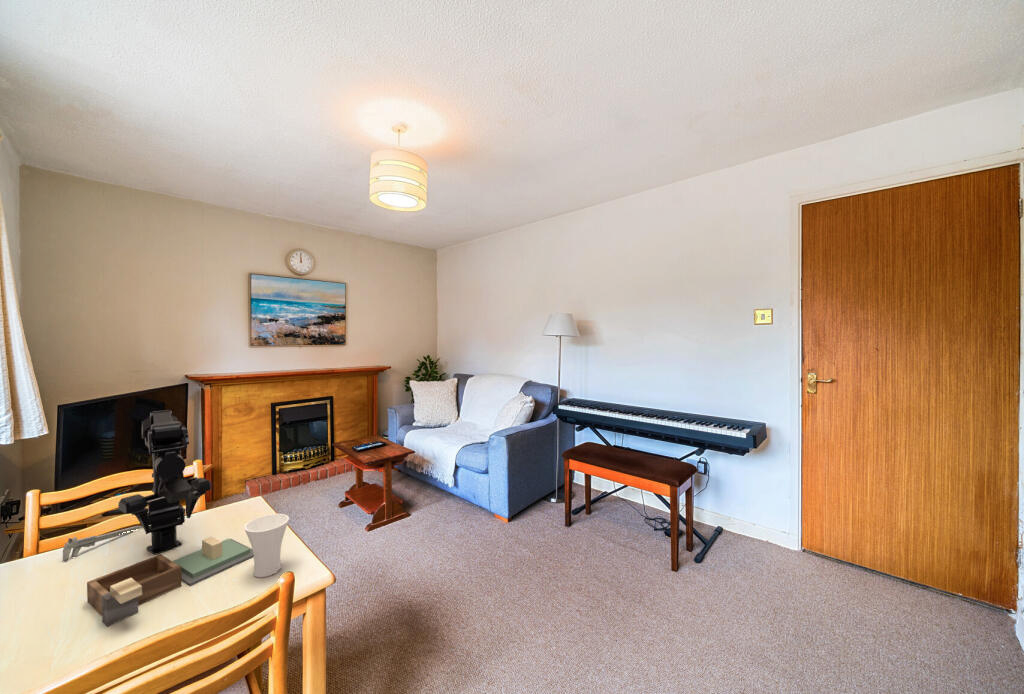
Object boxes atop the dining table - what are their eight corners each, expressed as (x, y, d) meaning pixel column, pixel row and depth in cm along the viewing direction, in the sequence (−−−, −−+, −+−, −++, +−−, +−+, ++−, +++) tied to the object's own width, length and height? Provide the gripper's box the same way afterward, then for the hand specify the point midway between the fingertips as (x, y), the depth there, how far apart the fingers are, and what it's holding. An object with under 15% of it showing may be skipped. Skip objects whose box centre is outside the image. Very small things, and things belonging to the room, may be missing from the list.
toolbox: (83, 603, 94) (83, 578, 94) (161, 572, 107) (160, 550, 106) (107, 626, 87) (106, 599, 86) (187, 589, 99) (186, 566, 99)
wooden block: (110, 594, 88) (110, 586, 88) (131, 586, 91) (131, 577, 91) (120, 603, 85) (120, 594, 85) (142, 594, 88) (141, 585, 88)
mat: (162, 568, 108) (162, 565, 108) (230, 540, 123) (230, 538, 123) (189, 586, 101) (189, 584, 101) (259, 554, 116) (259, 552, 116)
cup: (240, 571, 107) (239, 522, 107) (282, 555, 115) (282, 510, 115) (250, 587, 100) (250, 535, 100) (295, 570, 108) (294, 521, 108)
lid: (172, 565, 109) (172, 546, 109) (228, 542, 121) (228, 525, 121) (192, 578, 103) (192, 559, 103) (249, 553, 115) (249, 535, 115)
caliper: (65, 562, 111) (65, 541, 111) (62, 562, 111) (62, 540, 111) (144, 528, 131) (143, 509, 131) (141, 527, 131) (141, 509, 131)
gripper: (134, 485, 96) (135, 548, 96) (220, 464, 112) (221, 517, 113) (117, 477, 101) (118, 536, 102) (201, 458, 118) (202, 509, 118)
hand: (168, 524), depth 109 cm, fingers open, 9 cm apart
